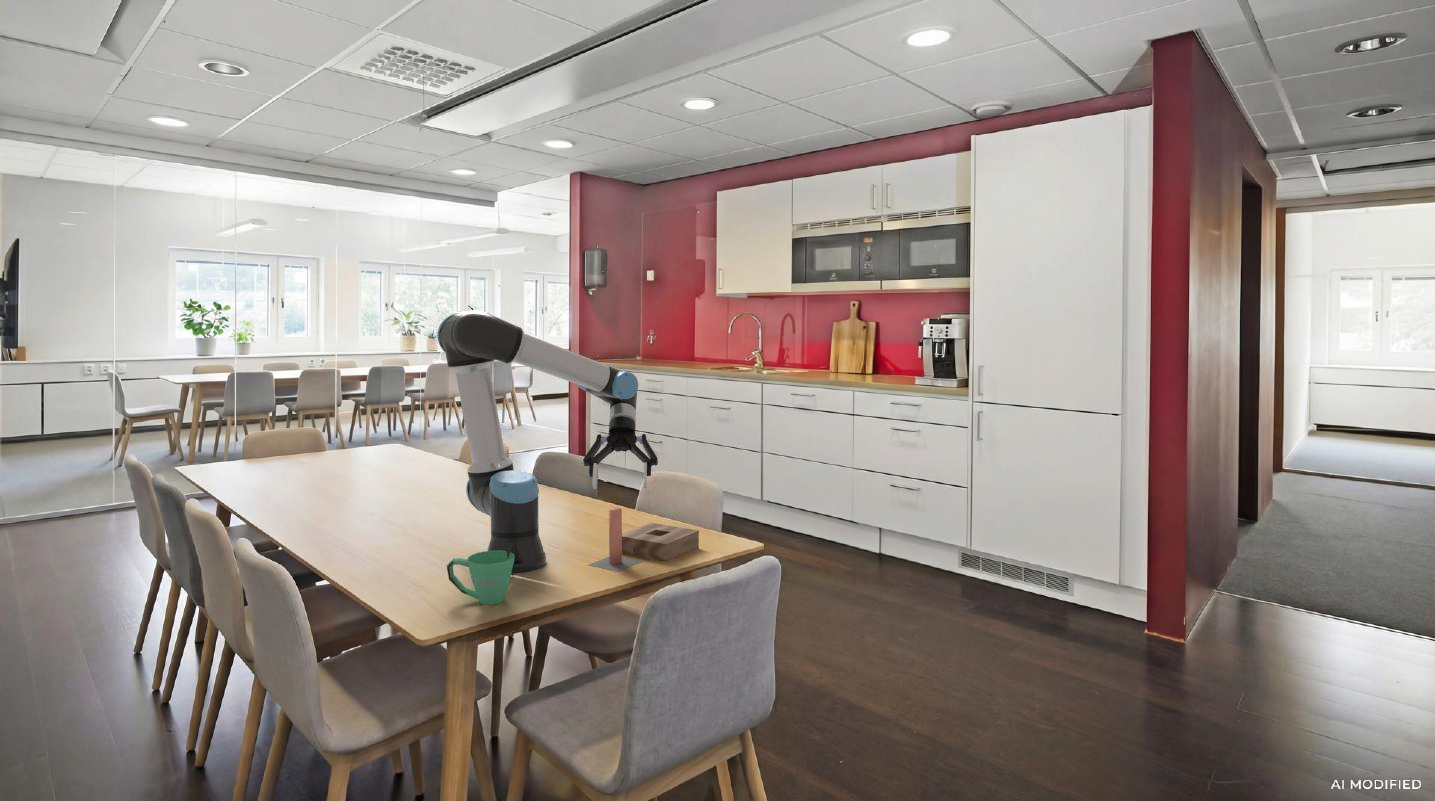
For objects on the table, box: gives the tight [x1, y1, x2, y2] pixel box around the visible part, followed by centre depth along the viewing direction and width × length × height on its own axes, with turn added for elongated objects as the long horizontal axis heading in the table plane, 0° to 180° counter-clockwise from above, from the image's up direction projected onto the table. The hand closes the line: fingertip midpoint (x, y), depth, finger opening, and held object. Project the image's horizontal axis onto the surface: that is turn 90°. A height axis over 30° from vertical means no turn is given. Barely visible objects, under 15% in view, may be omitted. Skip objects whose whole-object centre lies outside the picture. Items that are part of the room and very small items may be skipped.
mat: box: [588, 556, 644, 572], centre depth 190 cm, size 10×10×1 cm
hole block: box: [622, 522, 700, 562], centre depth 202 cm, size 16×16×5 cm
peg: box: [608, 507, 623, 565], centre depth 189 cm, size 3×3×14 cm
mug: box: [446, 550, 514, 606], centre depth 163 cm, size 15×10×10 cm
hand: (619, 485), depth 199 cm, fingers open, 13 cm apart
